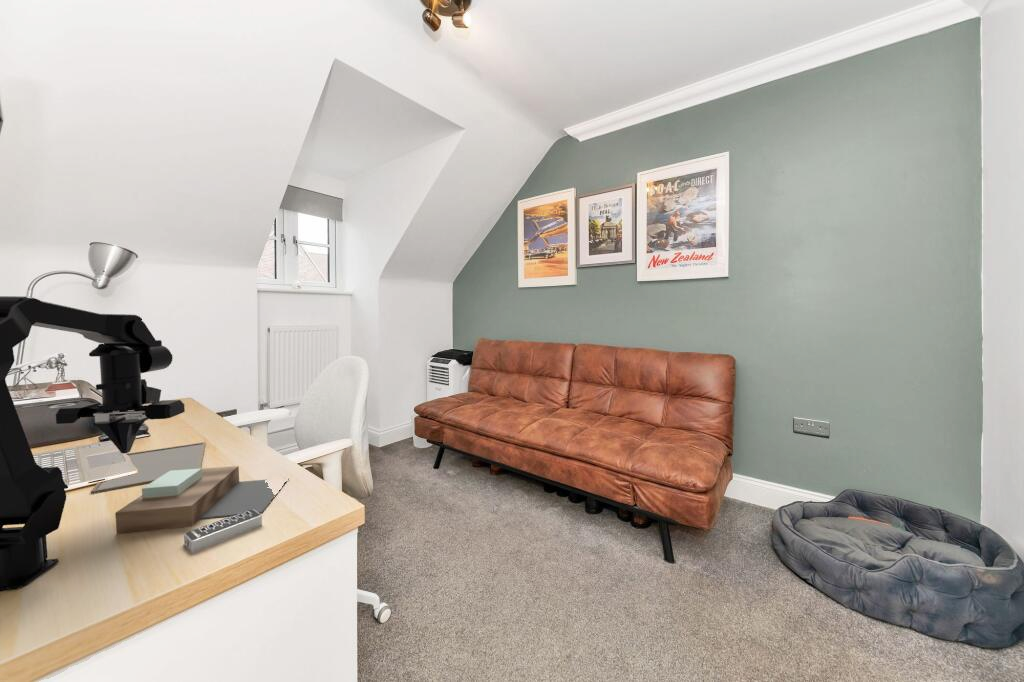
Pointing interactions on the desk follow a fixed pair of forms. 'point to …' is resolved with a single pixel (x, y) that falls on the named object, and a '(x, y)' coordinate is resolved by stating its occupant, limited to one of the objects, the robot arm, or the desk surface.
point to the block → (172, 483)
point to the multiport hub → (221, 530)
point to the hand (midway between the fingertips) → (126, 452)
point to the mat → (242, 499)
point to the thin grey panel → (156, 465)
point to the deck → (177, 503)
